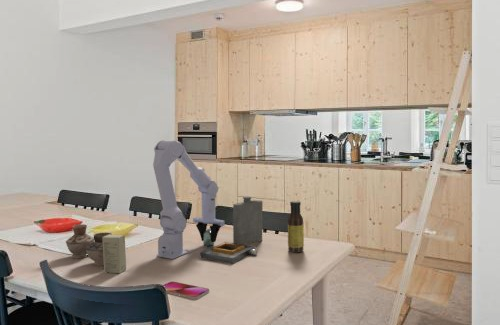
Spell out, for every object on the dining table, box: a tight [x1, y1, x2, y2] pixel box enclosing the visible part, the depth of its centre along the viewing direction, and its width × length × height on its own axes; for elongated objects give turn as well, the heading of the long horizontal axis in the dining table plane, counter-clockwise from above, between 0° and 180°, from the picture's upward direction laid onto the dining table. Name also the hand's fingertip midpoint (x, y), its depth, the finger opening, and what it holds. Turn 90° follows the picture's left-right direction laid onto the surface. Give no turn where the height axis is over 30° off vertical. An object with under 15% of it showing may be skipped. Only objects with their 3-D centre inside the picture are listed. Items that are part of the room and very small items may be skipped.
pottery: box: [65, 223, 113, 267], centre depth 149 cm, size 11×25×12 cm, turn 55°
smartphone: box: [163, 281, 210, 300], centre depth 120 cm, size 7×1×15 cm
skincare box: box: [102, 234, 127, 274], centre depth 137 cm, size 6×4×12 cm
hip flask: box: [232, 195, 263, 245], centre depth 174 cm, size 16×4×20 cm, turn 133°
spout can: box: [202, 228, 215, 248], centre depth 169 cm, size 4×4×7 cm
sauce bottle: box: [287, 200, 305, 253], centre depth 161 cm, size 6×6×20 cm
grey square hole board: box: [200, 241, 258, 264], centre depth 156 cm, size 18×17×3 cm
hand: (208, 241), depth 170 cm, fingers closed on spout can, 4 cm apart
